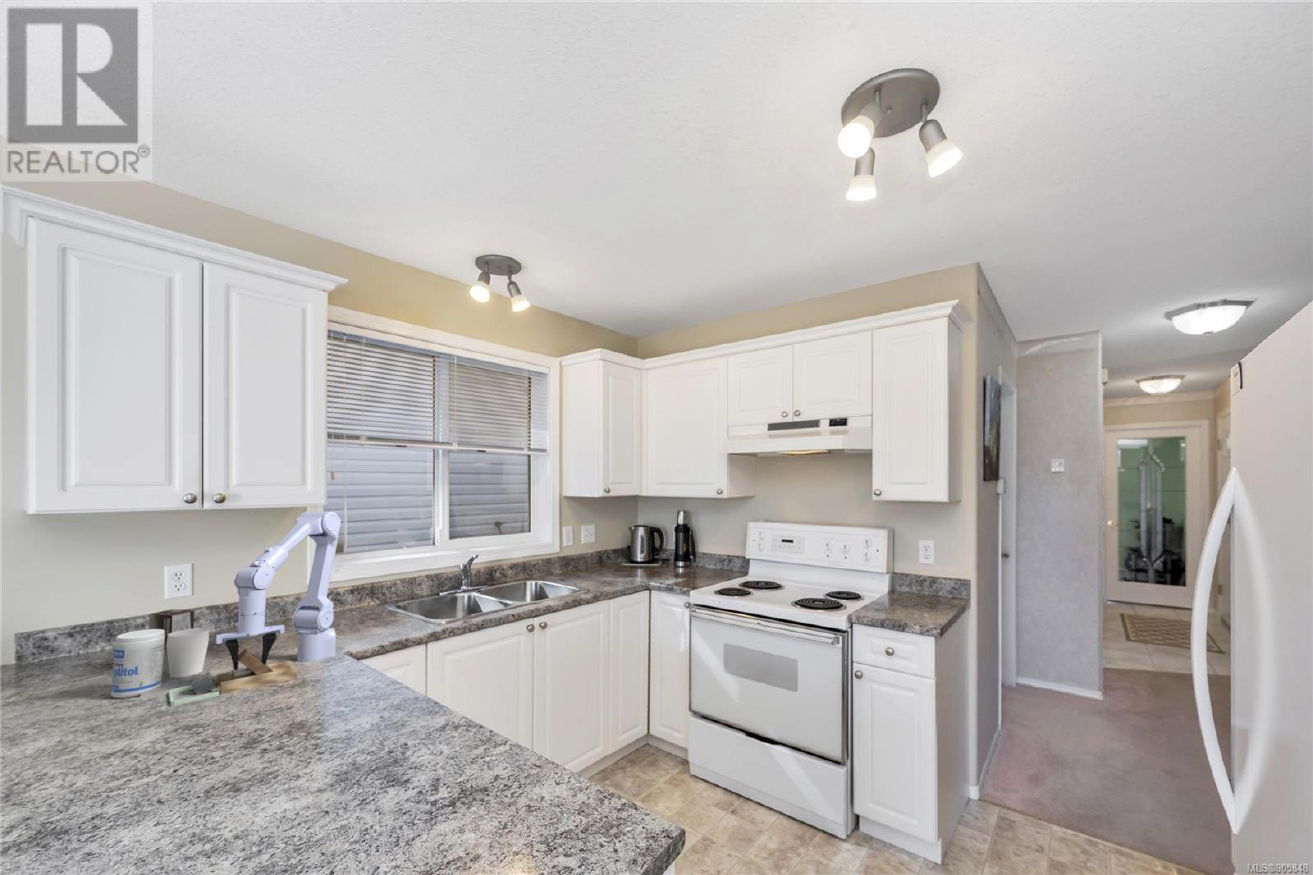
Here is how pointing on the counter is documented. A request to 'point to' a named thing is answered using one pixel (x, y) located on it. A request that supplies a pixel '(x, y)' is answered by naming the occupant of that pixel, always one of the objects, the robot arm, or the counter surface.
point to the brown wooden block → (253, 663)
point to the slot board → (256, 678)
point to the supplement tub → (137, 662)
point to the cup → (187, 651)
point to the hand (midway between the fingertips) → (249, 666)
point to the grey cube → (241, 673)
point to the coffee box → (171, 626)
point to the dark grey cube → (203, 683)
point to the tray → (188, 698)
